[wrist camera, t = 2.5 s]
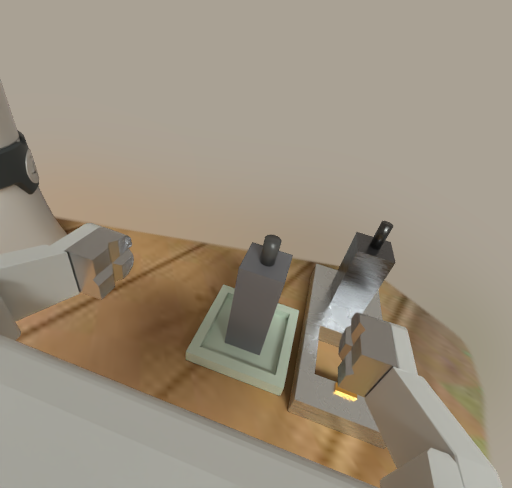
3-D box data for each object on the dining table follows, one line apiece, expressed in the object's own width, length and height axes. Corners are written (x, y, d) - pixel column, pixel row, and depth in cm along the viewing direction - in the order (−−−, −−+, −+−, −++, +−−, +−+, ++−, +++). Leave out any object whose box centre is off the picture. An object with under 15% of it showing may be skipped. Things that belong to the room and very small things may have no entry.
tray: (279, 396, 26) (283, 388, 25) (185, 359, 28) (185, 351, 27) (295, 318, 34) (299, 310, 33) (222, 292, 35) (223, 284, 35)
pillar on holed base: (383, 448, 24) (492, 369, 16) (287, 411, 25) (342, 318, 17) (369, 295, 40) (420, 214, 32) (311, 275, 41) (345, 193, 33)
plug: (259, 355, 29) (292, 261, 21) (224, 342, 29) (243, 245, 21) (268, 326, 32) (299, 234, 24) (236, 314, 32) (256, 221, 24)
